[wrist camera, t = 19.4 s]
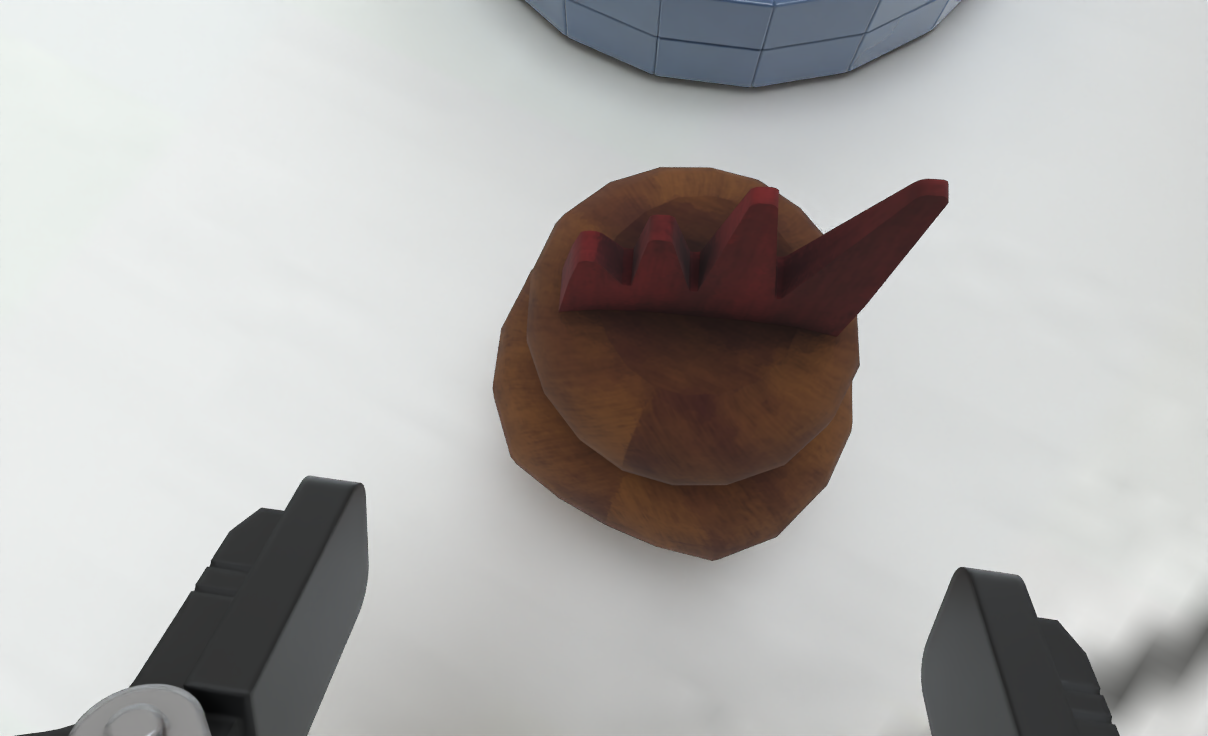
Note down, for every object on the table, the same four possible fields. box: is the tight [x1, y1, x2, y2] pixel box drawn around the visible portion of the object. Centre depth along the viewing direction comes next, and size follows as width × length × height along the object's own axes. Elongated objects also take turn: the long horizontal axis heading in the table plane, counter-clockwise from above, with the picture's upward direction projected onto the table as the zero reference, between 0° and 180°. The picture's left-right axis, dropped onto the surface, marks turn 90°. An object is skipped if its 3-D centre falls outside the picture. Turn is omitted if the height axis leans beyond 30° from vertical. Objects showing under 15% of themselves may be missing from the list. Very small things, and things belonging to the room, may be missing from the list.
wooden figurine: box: [493, 167, 948, 561], centre depth 17 cm, size 7×6×15 cm
